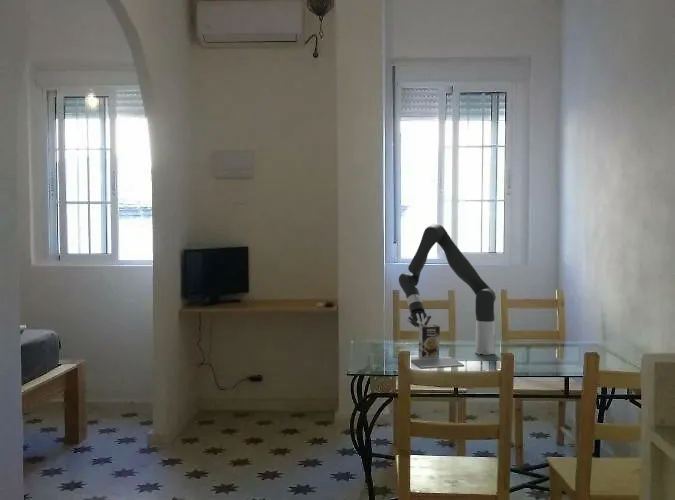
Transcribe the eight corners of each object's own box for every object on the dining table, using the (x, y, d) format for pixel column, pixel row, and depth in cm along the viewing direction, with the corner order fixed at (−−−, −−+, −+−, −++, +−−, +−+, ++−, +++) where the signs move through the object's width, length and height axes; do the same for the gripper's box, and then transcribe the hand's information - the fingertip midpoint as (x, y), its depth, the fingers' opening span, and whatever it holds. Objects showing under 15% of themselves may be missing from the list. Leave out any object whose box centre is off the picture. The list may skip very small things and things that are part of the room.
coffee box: (422, 359, 383) (422, 327, 381) (418, 356, 389) (418, 324, 388) (439, 358, 384) (440, 326, 383) (435, 355, 391) (436, 324, 389)
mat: (451, 358, 384) (451, 357, 384) (464, 366, 369) (464, 364, 369) (409, 360, 379) (409, 359, 379) (420, 368, 364) (420, 367, 363)
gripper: (405, 301, 401) (412, 329, 390) (429, 300, 404) (437, 327, 393) (401, 309, 406) (409, 337, 395) (425, 308, 409) (433, 336, 399)
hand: (423, 332), depth 394 cm, fingers closed
